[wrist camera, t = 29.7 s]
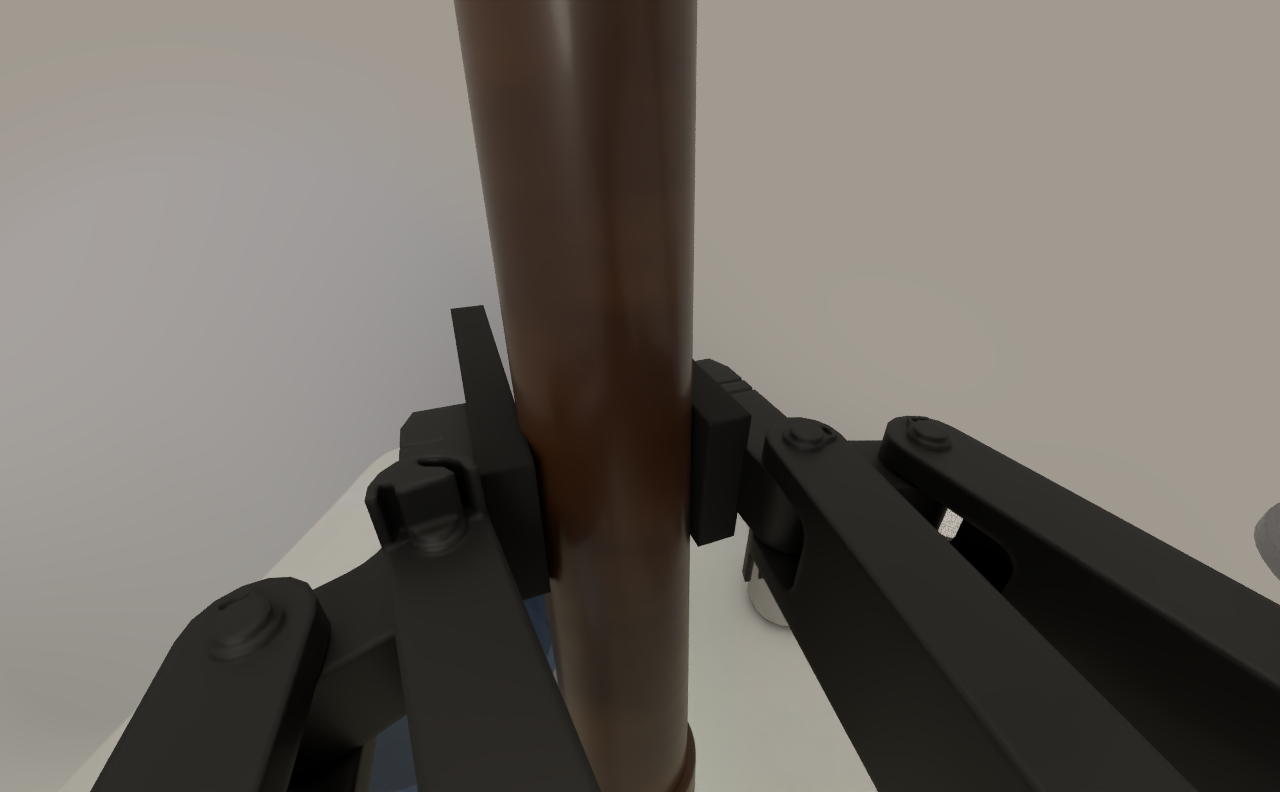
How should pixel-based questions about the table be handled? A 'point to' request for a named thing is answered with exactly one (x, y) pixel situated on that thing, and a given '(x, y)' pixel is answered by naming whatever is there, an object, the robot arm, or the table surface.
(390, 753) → the bowl
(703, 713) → the table surface
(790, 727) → the table surface
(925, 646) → the robot arm
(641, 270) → the muddler
